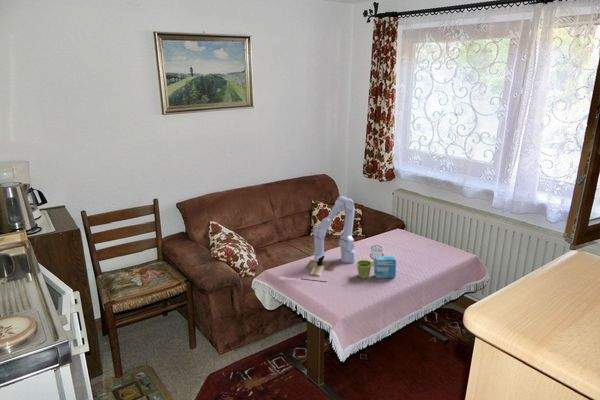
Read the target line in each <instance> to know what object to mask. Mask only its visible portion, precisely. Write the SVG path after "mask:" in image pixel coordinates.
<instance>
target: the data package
mask: <svg viewBox="0 0 600 400" xmlns="http://www.w3.org/2000/svg"><path fill="white" fill-rule="evenodd" d="M373 261H374V262H373V263H374V264H373V265H374V268H373V269H374V270H373V271H374V272H373V273H374V276H375V278H377V279H393V278H396V276H397V275H396V274H397V273H396V272H397V271H396V270H397V261H396V258H395V257H394V256H375V258H374V260H373Z"/></svg>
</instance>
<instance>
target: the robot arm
mask: <svg viewBox="0 0 600 400" xmlns="http://www.w3.org/2000/svg"><path fill="white" fill-rule="evenodd" d="M342 211H345V216H344V223H343V224H344V225H343V231H342V233H343V234H342V235H340V238H339V240H338V246H339V247H340V261H341V262H342V263H346V264H347V263H350V264H355V262H357V261H356V259H357V255H356V253H357V251H356V250H355V249H354V248H355V239H354V238H353V227H354V218H355V212H356V208H355V201H353V199H351V198H349V197H345V196H344V195H340V196H337V199H336V200H335V202H334V205H333V207H332V209H331V210H330V212H329V214H328V215H327V217H324V218H322V219H321V222H320V223H319V224H318V225H317V227H315V228H314V229H313V231H312V236H313V238H314V252H312V254H313V255H314V257H313V258H314V259H313V260H315V261H316V262H317V265H319V266H322V262H323V261H324V259H325V237H326V235H327V231H328V229H329V228H330V227H331V225H332V221H333V219H334V218H336V217H337V215H338V213H340V212H342Z"/></svg>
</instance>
